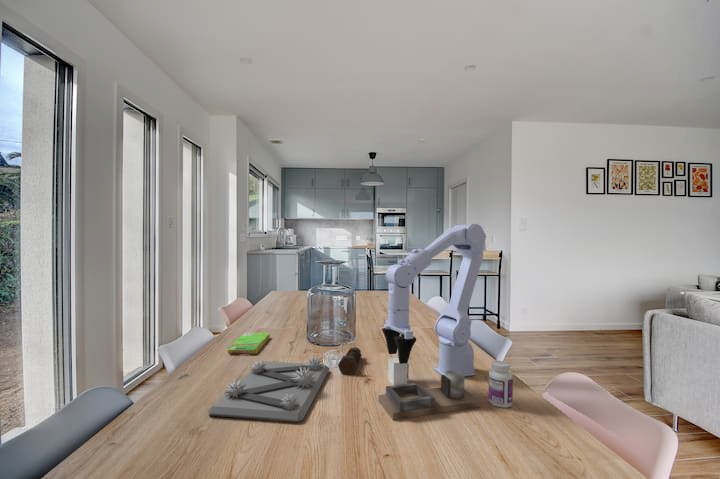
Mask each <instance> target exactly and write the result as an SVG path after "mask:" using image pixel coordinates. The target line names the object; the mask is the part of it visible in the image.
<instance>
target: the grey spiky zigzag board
mask: <svg viewBox="0 0 720 479" xmlns="http://www.w3.org/2000/svg"><path fill="white" fill-rule="evenodd" d="M309 357H310V358H307V360H308V361H307V360H305V363H302V362H301V363H300V362H299V363H298V362H287V361H285V362H283V361H282V362H281V361H267V360H256V361H255V362H252V364H251V363H250V364H251V367H249V368H250V370H249V371H250V372H248V373H247V374H246V375H245V376H243V378H241V379H240V380H238V381H236V380H232V383H230V382H228V385H226V387H227V389H224V392H225V393H224V395H223V396H221V397H220V398H219V399H218V400H217V401H216V402H215V403H214V404H213V405H212V406H211V407H209V408H208V410H207V413H208V414H209V415H210V416H211V417H223V418H225V417H226V418H227V417H228V418H236V419H237V418H238V419H239V418H240V419H251V420H263V421H277V422H289V423H300V422H301V421H303V420H304V418H305V417H306V414H307V413H308V411H309V409H310V408H311V405H312V403H313V402H314V399H315V398H316V395H317V393H318V392H319V390H320V388H321V385H323V382H324V380H325V378H326V376H327V375H328V372H329V371H330V368H329V367H328V365H326V364H324V363H322V361H323V360H324V359H322V358H321V357H319V355H317V356H313V357H312V355H310V356H309Z"/></svg>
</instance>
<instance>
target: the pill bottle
mask: <svg viewBox="0 0 720 479" xmlns="http://www.w3.org/2000/svg"><path fill="white" fill-rule="evenodd" d="M510 367H511V366H510V363H509V362H507V361H504V360H493V361H492V362H491V369H490V370H489V372H488V403H490V404H491V405H492V406H494V407H498V408H503V409H507V408H510V407H512V406H513V399H514V398H513V397H514V396H513V388H514V387H513V384H514V382H513V381H514V380H513V378H514V377H513V373H511V372H510V369H511V368H510Z"/></svg>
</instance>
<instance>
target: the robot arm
mask: <svg viewBox="0 0 720 479" xmlns="http://www.w3.org/2000/svg"><path fill="white" fill-rule="evenodd" d="M486 237H487V235H486V233H485V230H484V229H483V226H481V225H480V224H478V223H470V224H452V225H451V226H450V227H448V228H446V229H445V230H444V232H443V233H442V234H441V235H440V236H438V237H437V238H436V239H435V240H434V241H432V242H431V243H430V244H429V245H428V246H426V247H425V248H424V249H423V248H414V249H412V250H411V254H409V255H407V256H406V257H405V258H404V259H403V258H401V259H399V261H398V264H397V263H396V264H392V265H390V266H389V267H388V268H387V271H386V273H385V274H384V279H385V281H386V282H387V283H388V284H387V285H388V287H387V289H388V300H387V301H388V306H387V308H388V309H387V311H388V312H387V315H388V316H387V318H385V321H384V322H385V324H384V325H383V327H382V328H381V331H382V333H383V335H384V338H385V342H386V347H387V351H388V354H389V355H397V357H398V358H399V363H400V364H404V363H408V362H409V359H410V355H411V352H412V349H413V346H414V345H415V343H416V342H417V337H416V336H414V331H413V330H412V327H411V325H410V291H411V290H410V289H411V288H410V287H411V286H412V284H413V283H414V282H415V278H416V277H417V276H418V275H419V274H421V273H422V272H423V271H424V270H426V269H427V268H429V267H430V266H431V265H432V259H433V258H435V257H437V256H438V255H439V254H441V253H443V252H444V251H445V250H447V249H448V248H450V247H452V246H453V247H454V248H455V249H456V250H457V251H458V253H459V254H460V255H461V256H462V260H461V264H460V267H459V270H458V274H457V277H456V280H455V284H454V287H453V291H452V294H451V296H450V300H449V303H448V306H447V307H446V308H444V309H443V310H442V311H441V312H440V315H439V317H438V319H436V322H435V323H434V332H435V334H436V335H437V336H438V337H437V338H438V341H439V342H438V343H439V345H438V346H439V348H438V349H439V350H438V352H439V353H438V360H439V361H438V366H433V367H432V368H433V370H434V371H436V372H437V373H438V374H440V375H445V373H446V372H447V371H451V370H453V371H459V372H462V373H464V375H465V377H471V376H472V377H473V376H475V375H476V372H474V365H475V364H474V363H475V362H474V360H475V353H474V348H473V345H472V344H471V343H470V341H469V340H470V337H471V336H472V335H471V333H472V332H471V330H472V329H471V325H472V320H471V318H470V316H469V314H468V310H469V307H470V303H471V299H472V296H473V293H474V289H475V287H476V284H477V281H478V280H477V279H478V276H479V272H480V269H481V266H482V262H483V260H484V259H483V258H484V246H485V241H486ZM408 364H409V363H408Z"/></svg>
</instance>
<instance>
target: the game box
mask: <svg viewBox="0 0 720 479" xmlns="http://www.w3.org/2000/svg"><path fill="white" fill-rule="evenodd" d="M270 336H271V333H270V332H245V333H243V334H242V335H241V336H240V337H239V338H238V339H237V340H235V341H234V342H232V343H231V344H230V345H229V346H227V348H226V351H227V354H252V355H253V354H254V355H255V354H256V355H257V353H258V352H259V351H260V350H261V349H262V348H263V347H264V346H265V344H266V343H268V340H270V339H271V338H270Z"/></svg>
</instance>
